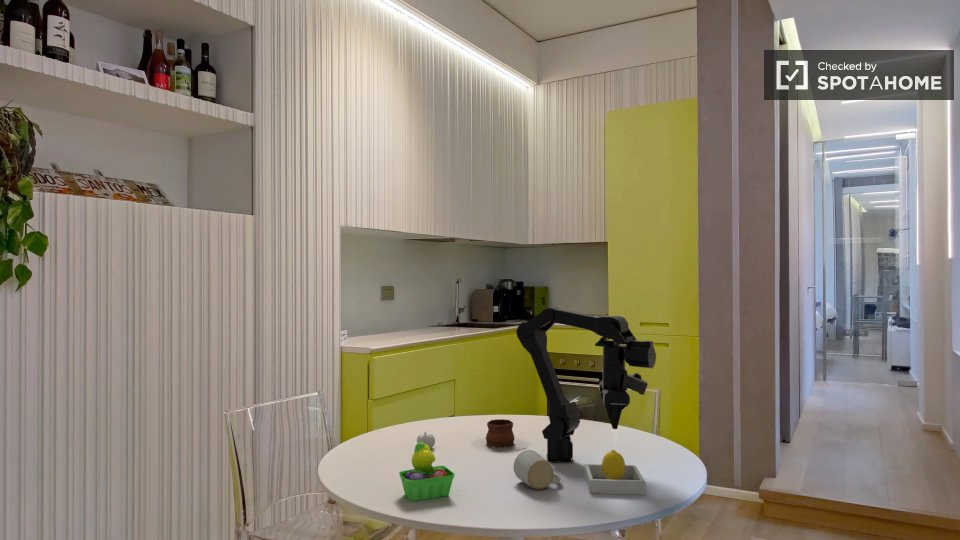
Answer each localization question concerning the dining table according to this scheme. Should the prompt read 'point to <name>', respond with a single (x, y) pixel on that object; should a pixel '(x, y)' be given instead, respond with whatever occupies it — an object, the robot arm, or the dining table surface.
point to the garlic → (426, 439)
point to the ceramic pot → (500, 433)
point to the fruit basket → (426, 476)
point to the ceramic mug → (534, 470)
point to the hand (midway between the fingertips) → (613, 424)
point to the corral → (614, 481)
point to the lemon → (613, 465)
